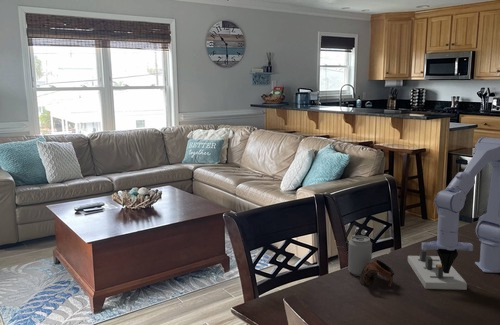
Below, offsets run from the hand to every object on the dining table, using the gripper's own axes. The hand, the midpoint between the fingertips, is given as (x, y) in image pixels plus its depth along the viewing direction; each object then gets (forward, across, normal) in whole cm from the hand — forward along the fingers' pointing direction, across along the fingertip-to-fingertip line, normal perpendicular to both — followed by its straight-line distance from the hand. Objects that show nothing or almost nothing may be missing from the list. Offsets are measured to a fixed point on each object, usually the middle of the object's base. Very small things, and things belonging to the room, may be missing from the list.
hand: (445, 272), depth 137 cm
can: (+4, -25, +7) cm, 26 cm away
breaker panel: (+4, -1, +7) cm, 8 cm away
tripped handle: (+1, -2, 0) cm, 2 cm away
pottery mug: (+4, -22, -2) cm, 22 cm away
